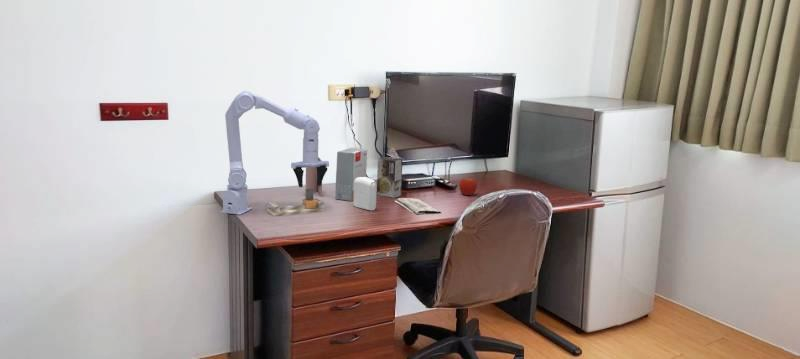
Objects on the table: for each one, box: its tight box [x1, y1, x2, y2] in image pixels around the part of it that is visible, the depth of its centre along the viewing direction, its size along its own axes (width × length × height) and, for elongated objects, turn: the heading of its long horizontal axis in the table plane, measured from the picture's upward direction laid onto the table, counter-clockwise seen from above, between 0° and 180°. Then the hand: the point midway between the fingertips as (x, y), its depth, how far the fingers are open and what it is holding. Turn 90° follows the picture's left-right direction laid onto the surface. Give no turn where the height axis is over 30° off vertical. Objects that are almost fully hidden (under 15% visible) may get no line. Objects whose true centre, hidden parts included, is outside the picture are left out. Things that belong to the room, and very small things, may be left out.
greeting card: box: [304, 156, 323, 198], centre depth 267 cm, size 11×7×15 cm, turn 161°
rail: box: [266, 198, 325, 217], centre depth 239 cm, size 20×7×4 cm, turn 121°
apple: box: [459, 178, 478, 196], centre depth 281 cm, size 8×8×8 cm
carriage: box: [301, 189, 317, 208], centre depth 241 cm, size 4×4×7 cm
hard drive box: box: [334, 147, 368, 202], centre depth 265 cm, size 16×8×20 cm, turn 161°
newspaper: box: [394, 197, 441, 215], centre depth 255 cm, size 23×12×2 cm, turn 20°
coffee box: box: [376, 156, 403, 198], centre depth 272 cm, size 9×6×16 cm
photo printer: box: [352, 176, 377, 211], centre depth 248 cm, size 10×4×12 cm, turn 47°
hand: (309, 186), depth 240 cm, fingers open, 7 cm apart
